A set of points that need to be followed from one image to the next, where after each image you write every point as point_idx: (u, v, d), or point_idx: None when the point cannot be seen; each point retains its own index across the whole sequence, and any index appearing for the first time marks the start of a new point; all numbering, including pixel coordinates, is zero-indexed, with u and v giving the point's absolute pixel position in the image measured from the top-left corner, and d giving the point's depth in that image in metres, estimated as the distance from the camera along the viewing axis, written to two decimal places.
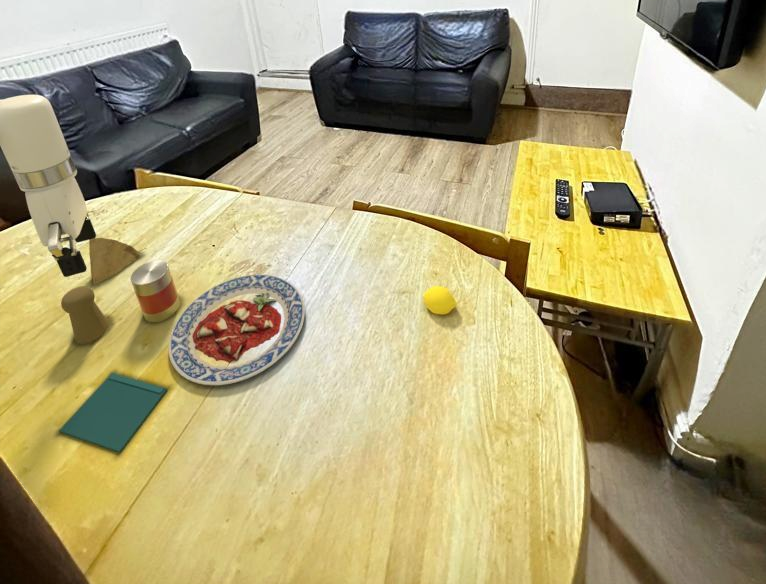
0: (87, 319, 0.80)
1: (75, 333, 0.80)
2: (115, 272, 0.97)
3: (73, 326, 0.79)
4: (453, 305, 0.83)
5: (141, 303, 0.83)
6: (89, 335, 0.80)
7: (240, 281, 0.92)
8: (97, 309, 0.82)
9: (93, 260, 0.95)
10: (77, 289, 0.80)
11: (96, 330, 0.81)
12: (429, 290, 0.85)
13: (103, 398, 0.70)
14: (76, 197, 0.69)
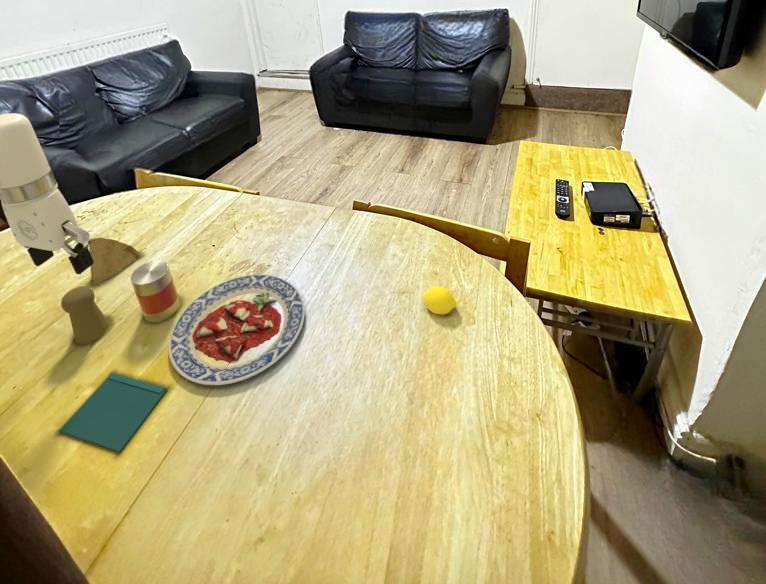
0: (87, 319, 0.80)
1: (75, 333, 0.80)
2: (115, 272, 0.97)
3: (73, 326, 0.79)
4: (453, 305, 0.83)
5: (141, 303, 0.83)
6: (89, 335, 0.80)
7: (240, 281, 0.92)
8: (97, 309, 0.82)
9: (93, 260, 0.95)
10: (77, 289, 0.80)
11: (96, 330, 0.81)
12: (429, 290, 0.85)
13: (103, 398, 0.70)
14: None
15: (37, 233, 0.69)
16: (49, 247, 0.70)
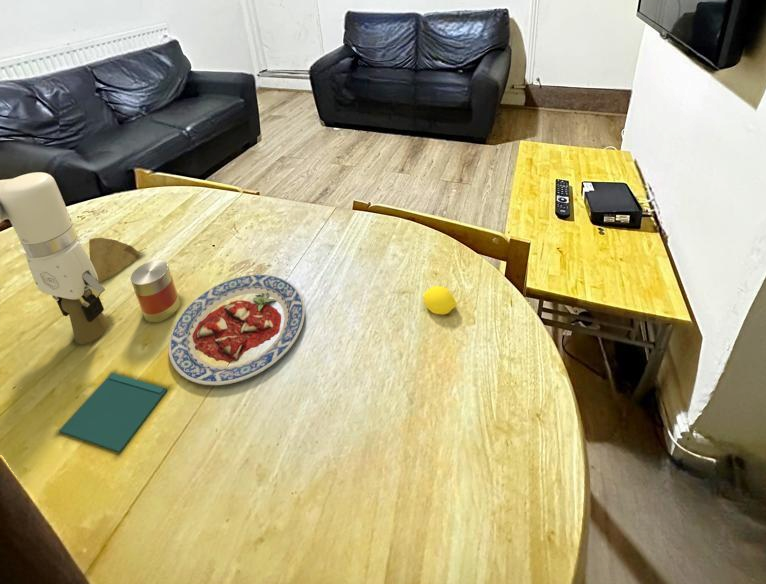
0: None
1: (75, 333, 0.80)
2: (115, 272, 0.97)
3: (73, 326, 0.79)
4: (453, 305, 0.83)
5: (141, 303, 0.83)
6: (89, 335, 0.80)
7: (240, 281, 0.92)
8: None
9: (93, 260, 0.95)
10: None
11: (96, 330, 0.81)
12: (429, 290, 0.85)
13: (103, 398, 0.70)
14: None
15: (59, 283, 0.74)
16: (69, 296, 0.75)
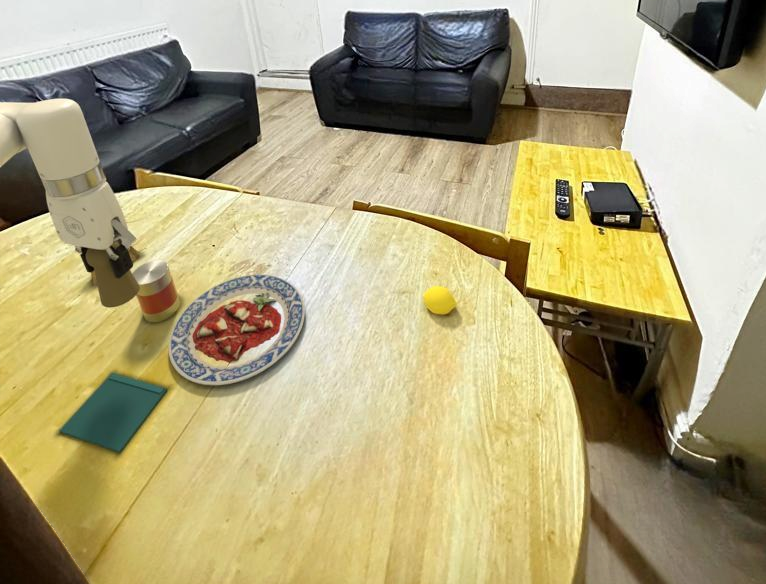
0: None
1: (101, 291, 0.70)
2: None
3: (99, 283, 0.69)
4: (453, 305, 0.83)
5: (141, 303, 0.83)
6: (117, 294, 0.70)
7: (240, 281, 0.92)
8: None
9: None
10: None
11: (125, 289, 0.71)
12: (429, 290, 0.85)
13: (103, 398, 0.70)
14: None
15: (84, 230, 0.64)
16: (97, 245, 0.64)
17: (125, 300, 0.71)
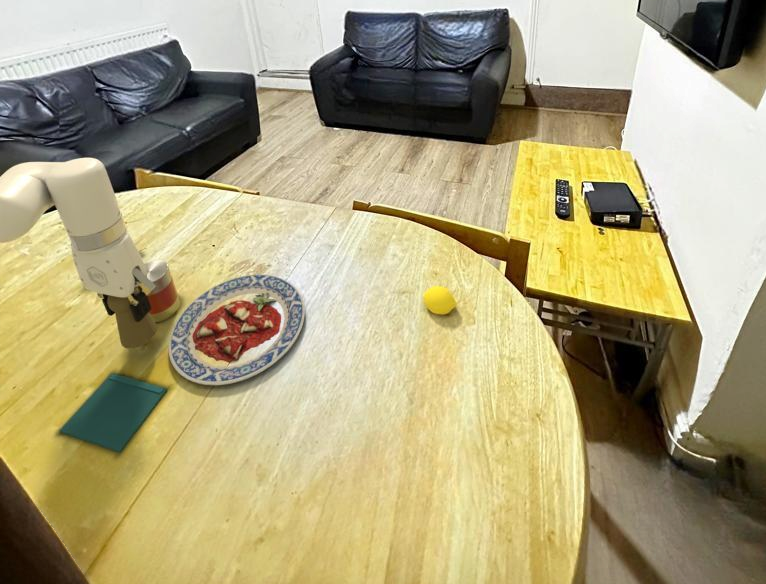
0: None
1: (121, 334, 0.74)
2: None
3: (119, 326, 0.73)
4: (453, 305, 0.83)
5: None
6: (136, 336, 0.74)
7: (240, 281, 0.92)
8: None
9: None
10: None
11: (144, 331, 0.75)
12: (429, 290, 0.85)
13: (103, 398, 0.70)
14: None
15: (107, 280, 0.67)
16: (119, 294, 0.68)
17: (144, 341, 0.75)
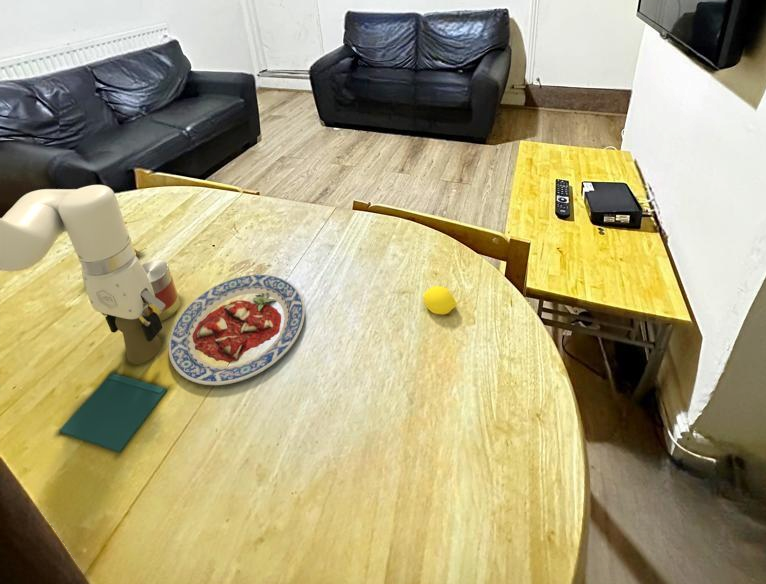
0: (142, 338, 0.75)
1: (129, 353, 0.76)
2: None
3: (127, 346, 0.75)
4: (453, 305, 0.83)
5: None
6: (143, 355, 0.76)
7: (240, 281, 0.92)
8: None
9: None
10: None
11: (151, 350, 0.77)
12: (429, 290, 0.85)
13: (103, 398, 0.70)
14: None
15: (117, 302, 0.69)
16: (127, 316, 0.70)
17: None
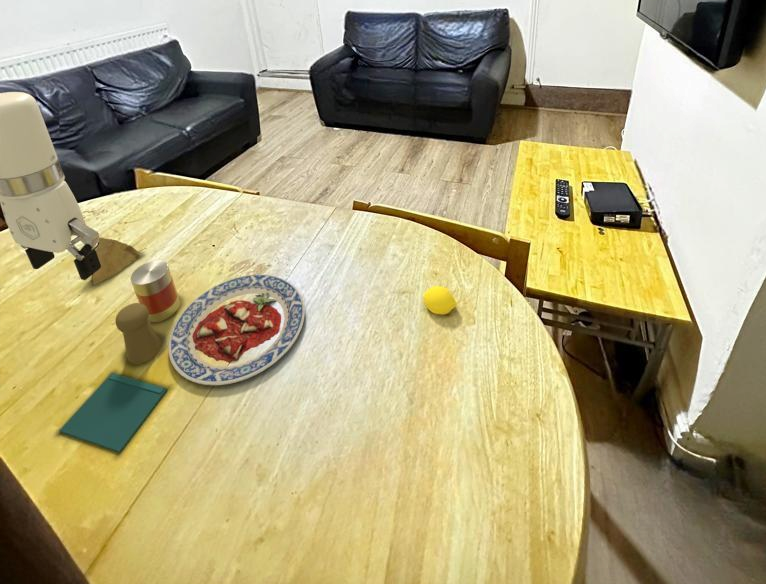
0: (142, 338, 0.75)
1: (129, 353, 0.76)
2: (115, 272, 0.97)
3: (127, 346, 0.75)
4: (453, 305, 0.83)
5: (141, 303, 0.83)
6: (143, 355, 0.76)
7: (240, 281, 0.92)
8: (151, 327, 0.77)
9: None
10: (131, 306, 0.75)
11: (151, 350, 0.77)
12: (429, 290, 0.85)
13: (103, 398, 0.70)
14: None
15: (39, 232, 0.60)
16: (52, 248, 0.61)
17: None
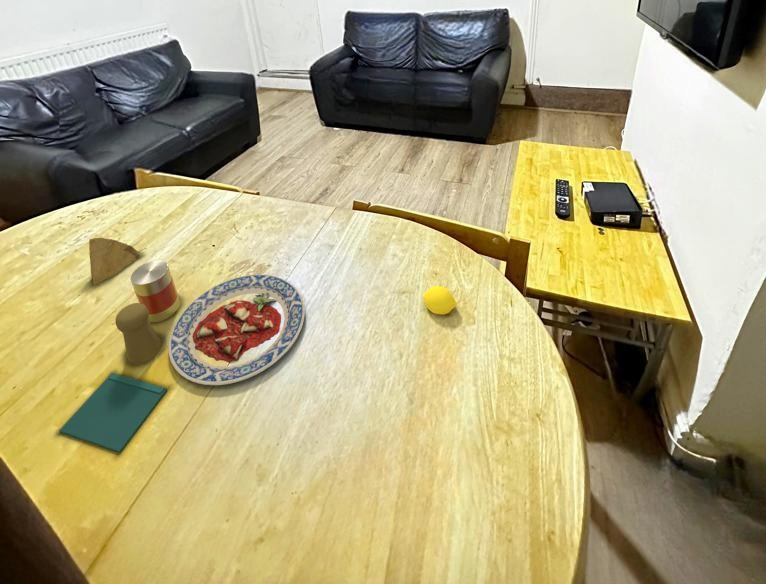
0: (142, 338, 0.75)
1: (129, 353, 0.76)
2: (115, 272, 0.97)
3: (127, 346, 0.75)
4: (453, 305, 0.83)
5: (141, 303, 0.83)
6: (143, 355, 0.76)
7: (240, 281, 0.92)
8: (151, 327, 0.77)
9: (93, 260, 0.95)
10: (131, 306, 0.75)
11: (151, 350, 0.77)
12: (429, 290, 0.85)
13: (103, 398, 0.70)
14: None
15: None
16: None
17: None
